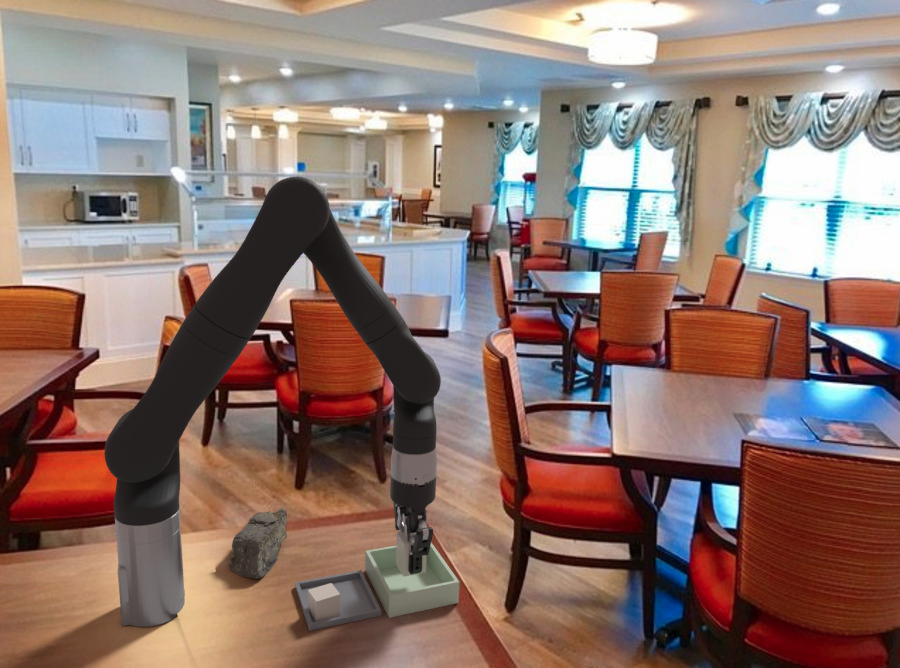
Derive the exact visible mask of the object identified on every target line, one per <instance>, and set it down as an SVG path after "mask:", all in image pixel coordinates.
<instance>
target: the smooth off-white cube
mask: <svg viewBox="0 0 900 668" xmlns="http://www.w3.org/2000/svg"><path fill="white" fill-rule="evenodd" d="M308 611H309V614H310V616H311V617H312V619H313V620H314V621H315V622H316V621H321V620H325V619H330V618H335V617H340V593H339V592H338V591H337V589H336V588H335V587H334V586H333V584H332V583H329V584H326V585H323V586H319V587H316V588H313V589H309V590H308Z"/></svg>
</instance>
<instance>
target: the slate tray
mask: <svg viewBox="0 0 900 668" xmlns="http://www.w3.org/2000/svg"><path fill="white" fill-rule="evenodd" d="M329 583H332V584H333V586H334V587H335V588H336V589H337V591H338V592H339V593H340V617H335V618H330V619H325V620H321V621H316V622H315V621H314V620H313V619H312V617H311V616H310V614H309V611H308V590H309V589H313V588H316V587H319V586H323V585H326V584H329ZM294 588H295V591H296V594H297V597H298V602H299V604H300V606H301V610H302V612H303V615H304V620H305V621H306V624H307V628H308V631H309V632H310V631H316V630H318V629H323V628H329V627H334V626H338V625H342V624H343V625H344V624H348V623H353V622H357V621H360V620H361V621H362V620H366V619H372V618H375V617H380V616H382V609H381V607H380V605H379V603H378V601H377V599H376V597H375V595H374V593H373V591H372V589H371V586H370V584H369V583H368V581H367V579H366V577H365V575H364V573H363V570H361V569H360V570H355V571H350V572H344V573H339V574H332V575H327V576H322V577H317V578H311V579H306V580H301V581H295V582H294Z"/></svg>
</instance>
